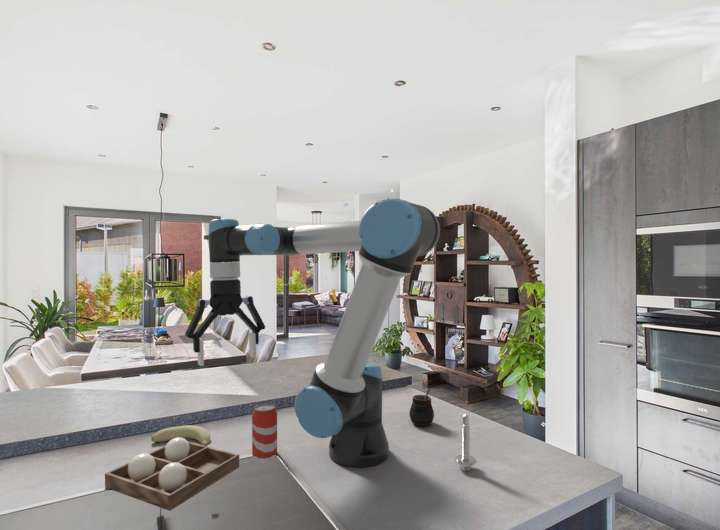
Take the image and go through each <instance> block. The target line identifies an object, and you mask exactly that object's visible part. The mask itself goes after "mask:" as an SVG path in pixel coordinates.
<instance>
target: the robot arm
mask: <svg viewBox="0 0 720 530" xmlns="http://www.w3.org/2000/svg"><path fill="white" fill-rule="evenodd" d="M440 227H441V226H440V222H439V220H438V218H437V216H436V215H435V213H434V212H433V211H431V210H430V209H429V208H427V207H426V206H423V205H421V204H416V203H413V202H410V201H408V200H404V199H400V198H385V199H382V200H378V201H377V202H374V203H373V204H372V205H371V206H369V207H368V208H367V209H366V211H365V212H364V213H363V215H362V216H361V219H360V220H357V221H356V220H355V221H345V222H335V223H333V222H332V223H323V224H322V223H321V224H311V225H300V226H299V225H298V226H288V227H287V226H286V227H282V226H281V227H280V226H274V225H272V224H269V223H256V224H249V225H248V224H247V225H240V223H239V221H238V220H237V219H234V218H214V219H211V220H210V221H209V223H208V235H207V238H208V247H209V248H208V249H209V255H208V256H209V277H210V279H212V280H210V281H209V288H210V289H209V290H210V291H209V292H210V298H209V299H204V298H203V299H202V298H199V299H198V300H197V306H196V310H195V311H194V314H193V316H192V318H191V320H190V322H189V324H188V327H187V329H186V331H185V334H184V336H185V337H187V339H191V340H192V343H193V352H194V353H197V365H199V366H200V367H203V366H205V360H204V359H205V357H204V356H205V355H204V354H205V353H204V339H203V338H201V337H202V336H203V335H204V333H205V332H206V331H207V330H208V328H209V327H210V326H211V324H212V323H213V322H214V320H215V319H216V318H217V317H218V316H226V315H229V316H232V315H236V316H237V317H238V318H239V319H240V320H241V321H242V322H243V323H244V324H245V325H246V326H247V327H248V329H250V330H251V331H249V332H248V347H249V348H248V351H249V357H250V358H252V359H255V358H257V347H256V346H257V345H259V342H260V340H259V338H260V337H259V333H261V331H262V330H265V329H266V325H265V323H264V322H263V319H262V317H261V316H260V314H259V312H258V310H257V308H256V306H255V304H254V299H253V298H254V297H253V296H251V295H246V296H244V297H242V295H241V292H242V291H241V289H242V287H241V279H239V278H240V277H241V259H240V258H241V257H240V256H297V255H309V254H311V255H312V254H327V253H328V254H329V253H330V254H331V253H333V254H334V253H348V252H349V253H351V252H358V256H359V258H360V261H361V266H360V269H359V272H358V275H357V278H356V279H355V283H354V285H353V288H352V290H351V293H350V296H349V298H348V301H347V303H346V306H345V308H344V313H343V314H342V317H341V320H340V322H339V325H338V329H337V330H336V332H335V333H336V334H335V336H334V338H333V340H332V344H331V346H330V348H329V352H328V354H327V357H326V359H325V361H322V362H320V363H318V364H317V366H316V367H315V370H314V371H313V374H312V378H311V380H310V382H309V384H308V385H306V386H303V387H302V388H301V389H300V390H299V391H298V392H297V394H296V396H295V399H294V412H295V416H296V417H297V419H298V423H299V425H300V426H301V427H302V428H303V430H304V431H305V432H307V433H308V434H309V435H310V436H312V437H315V438H317V439H318V438H319V439H328V438H330V437H331V438H330V440H329V443H328V449H329V450H328V455H329V457H330V459H331V460H332V461H334V462H335V463H338V464H339V465H342V466H346V467H353V468H364V467H365V468H366V467H371V466H375V465H378V464H382V463H383V462H384V461H387V459H388V458H389V455H390V450H389V449H390V444H389V441H388V437H387V436H386V435H387V434H386V432H385V429H384V425H383V381H384V378H383V373H382V372H383V370H382V367H381V366H380V365H379V364H377V363H373V362H368V361H369V358H370V356H371V354H372V351H373V348H374V346H375V343H376V341H377V338H378V336H379V333H380V331H381V329H382V326H383V324H384V320H385V319H386V317H387V313H388V312H389V311H388V310H389V308H390V306H391V303H392V301H393V298H394V296H395V293H396V291H397V288H398V286H399V284H400V281H401V279H402V278H404V277H407V276H409V275H410V274H412V271H413V269H414V266H415V263H416V261H417V258H419V257H422V256H424V255H426V254H427V253H430V252H431V251H432V250H433V249H434V248H435V247H436V245H437V244H438V242H439V239H440V235H441V233H440V232H441V228H440ZM242 304H244V305H246V308H247V310H248V312H249V313H250V315H251V317H252V319H253V321H254V322H253V321H252V320H251V318H249V317H248V315H247V314H245V312H244V310H242V308H241V305H242ZM208 306H210V307H211V308H212V309H211V310H210V311H209V313H208V315H207V316H206V317H205V318H204V320H203V321H202V323H201V324H200V325H199V322H200V320H201V318H202V316H203V315H204V313H205V310H206V309H207V308H208ZM198 325H199V327H198ZM197 327H198V328H197Z"/></svg>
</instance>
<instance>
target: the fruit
mask: <svg viewBox="0 0 720 530" xmlns="http://www.w3.org/2000/svg"><path fill="white" fill-rule="evenodd" d="M177 437H181V438H184V439H193V440H196V441H197V442H199V444H201V445H204V446H207V445H208V444H209V443H210V442H211V433H210V432H209V430H207V429H206V428H204V427H201V426H199V425H189V424H188V425H187V424H186V425H180V426H172V427H171V426H170V427H166V428H162V429H160V430H158V431H157V432H155V433H154V434H152V435H151V442H153V443H165V442H169V441H170V440H172V439H174V438H177Z"/></svg>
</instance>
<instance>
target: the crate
mask: <svg viewBox="0 0 720 530" xmlns="http://www.w3.org/2000/svg"><path fill="white" fill-rule="evenodd" d="M188 443H189V446H190V451H189V454H188V456H187V457H186V458H184V459H182V460H180V461H178V462H177V463H180V464H182V465H183V466H184V467H185V468H186V471H187V478H186V481H185V483H184V484H183V486H182V487H181V488H179V489H177V490H175V491H172V492H168V491H165V490H163V489H162V488H161V487H160V485H159V482H158V476H159V473H160V471H161V470H162V468H163V467H164V466H166V465H167V464H169V463H172V462H171V461H169V460H168V459H167V458H166V456H165V447H166V445H164V446H162V447H160V448H157V449H155V450H153V451H151V452H149V453H147V454H150V455H151V456H153V457H154V459H155V462H156V468H155V471H154V473H153V474H152V475H151V476H149V477H147V478H145V479H143V480H141V481H135V480H133V479H131V478H130V476H129V474H128V465H129V463H130V461H129V462H127V463H125V464H123V465H121V466H118V467H116V468H114V469H112V470H109V471H108V472H106V473H104V488H106V489H109V490H111V491H115V492H116V493H120V494H121V495H124V496H125V495H126V496H128V497H131V498H133V499H135V500H139V501H141V502H144V503H147V504H150V505H151V506H155V507H158V508H160V509H164V510H166V511H169V512H171V511H172V510H174V509H175V508H177V507H179V506H180V505H181V504H183V503H185V502H186V501H188V500H190V499H192V498H193V497H194V496H196V495H197V494H199V493H201V492H203V491H204V490H206V489H207V488H208V487H210V486H213V484H215V483H216V482H219V481H220V480H221V479H223V478H224V477H226V476H228V475H229V474H231V473H233V472H234V471H236V470H237V469H239V468H240V454H238V453H233V452H230V451H226V450H223V449H219V448H215V447H211V446H207V445H206V446H204V445H202V444H201V443H196V442H191V441H188Z"/></svg>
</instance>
